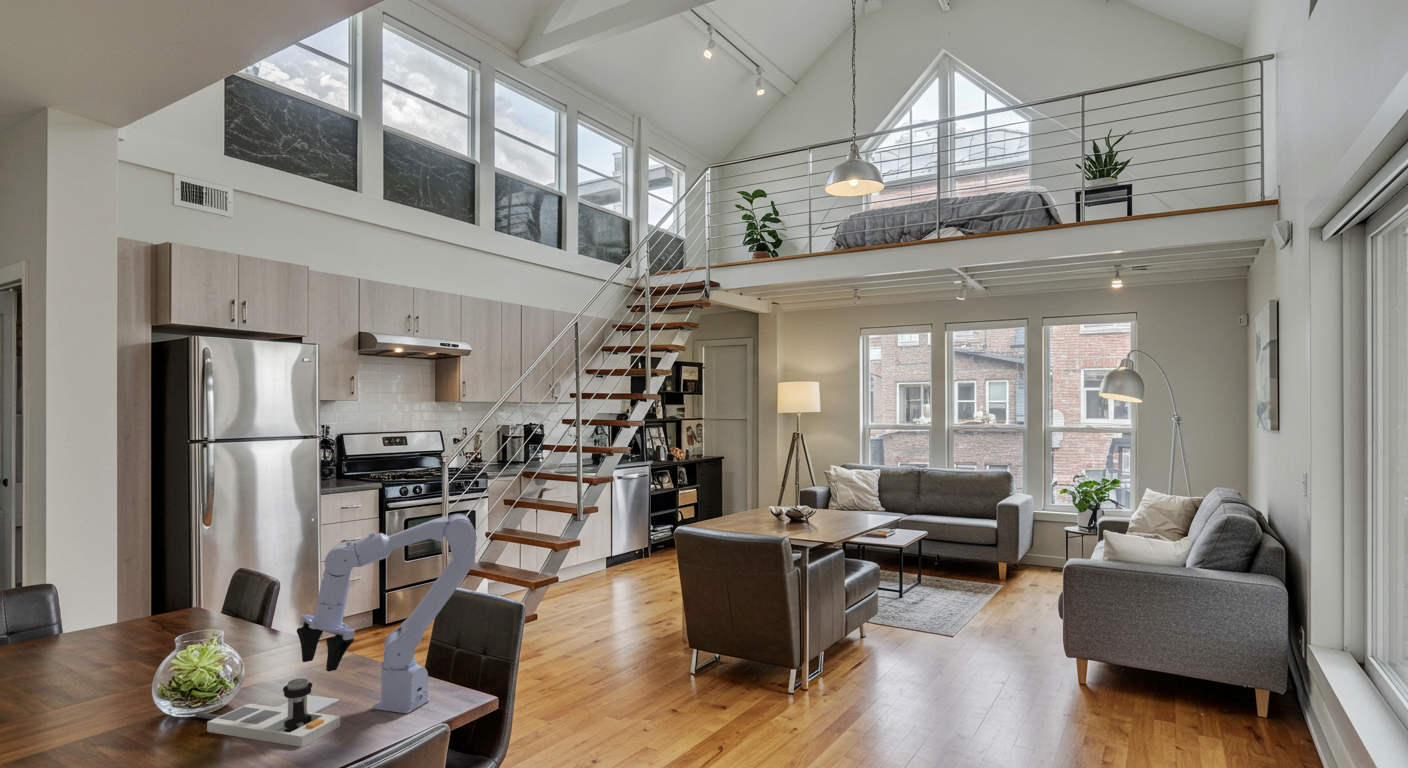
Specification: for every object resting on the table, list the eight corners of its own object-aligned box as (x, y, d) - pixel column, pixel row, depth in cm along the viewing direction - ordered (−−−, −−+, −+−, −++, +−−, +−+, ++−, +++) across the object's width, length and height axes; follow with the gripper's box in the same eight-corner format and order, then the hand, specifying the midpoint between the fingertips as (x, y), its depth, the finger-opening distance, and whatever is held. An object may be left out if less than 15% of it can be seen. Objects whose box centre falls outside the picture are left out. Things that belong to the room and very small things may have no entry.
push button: (284, 741, 149) (285, 690, 149) (269, 735, 151) (271, 685, 152) (316, 729, 154) (317, 680, 155) (302, 723, 157) (303, 675, 157)
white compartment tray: (340, 726, 156) (340, 713, 156) (301, 746, 146) (302, 733, 146) (217, 707, 165) (217, 696, 165) (173, 726, 155) (174, 713, 155)
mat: (340, 701, 169) (340, 699, 169) (305, 718, 159) (305, 716, 159) (304, 696, 172) (304, 694, 172) (267, 713, 162) (267, 711, 162)
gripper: (293, 596, 162) (280, 660, 161) (339, 612, 156) (326, 678, 155) (321, 593, 169) (309, 654, 167) (366, 607, 162) (354, 671, 161)
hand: (319, 665), depth 161 cm, fingers open, 7 cm apart
